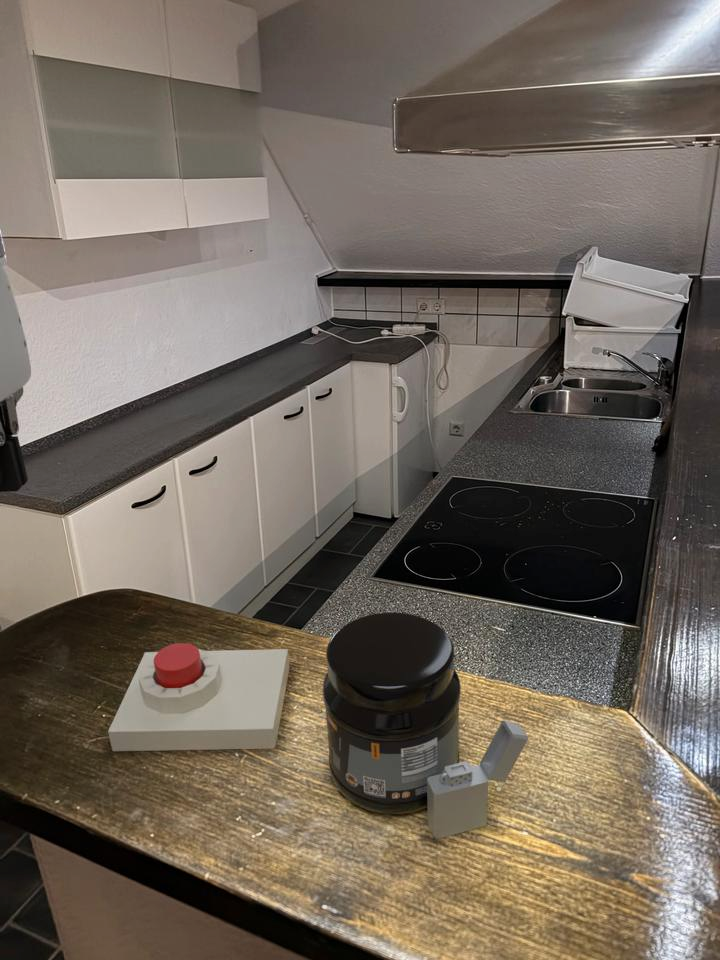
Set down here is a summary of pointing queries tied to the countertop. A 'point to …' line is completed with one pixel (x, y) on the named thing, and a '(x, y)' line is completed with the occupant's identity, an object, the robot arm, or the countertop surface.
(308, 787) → the countertop surface
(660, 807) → the countertop surface
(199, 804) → the countertop surface
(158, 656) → the power button
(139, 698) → the grey button base
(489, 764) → the lighter
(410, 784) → the supplement container
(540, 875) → the countertop surface
